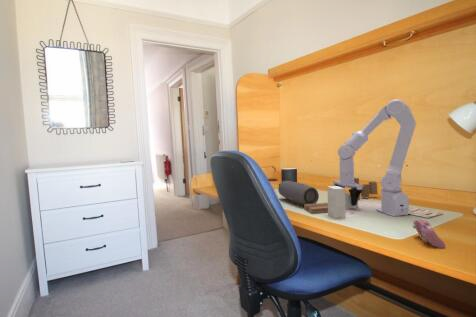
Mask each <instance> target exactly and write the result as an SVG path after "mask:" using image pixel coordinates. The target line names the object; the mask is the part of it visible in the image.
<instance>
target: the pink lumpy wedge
mask: <svg viewBox="0 0 476 317" xmlns="http://www.w3.org/2000/svg"><path fill="white" fill-rule="evenodd" d="M412 228H413V229H414V230H416V232H417V234H418V236H419V238H420V239H421V240H422V241H423V242H424V243H425V244H431V245H432V246H433V247H434V248H438V249H445V248H446V243H445V242H444V241H443V240H442V239H441V237H440V236H439V235H438V234H437V233H436V231H435V230H434V228H433V227H432V225H431V223H430V222H429V221H427V220H424V219H416V220H413V225H412Z"/></svg>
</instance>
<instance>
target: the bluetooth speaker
mask: <svg viewBox="0 0 476 317" xmlns="http://www.w3.org/2000/svg"><path fill="white" fill-rule="evenodd" d="M277 189H278V193H279V195H280V196H282V197H283V198H285V199H287V200H289V202H291V203H293V204H296V205H300V206H304V205H305V204H317V203H318V201H319V198H320V197H319V196H320V194H319V191H318V190H317V189H316V188H315V187H314V186H313V187H312V186H310V185H307V184H304V183H301V182H295V181H291V180H283V181H281V182H280V183H279V185H278V188H277Z"/></svg>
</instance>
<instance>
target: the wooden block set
mask: <svg viewBox="0 0 476 317" xmlns="http://www.w3.org/2000/svg"><path fill="white" fill-rule="evenodd" d="M354 182H355V183H357V184H360V178H359V177H354ZM361 185H362V192H361V194H360V195H359V198H358V200H360V199H361V197H362V198H369V197H370V195H378V182H377V181H368V183H364V184H361ZM350 189H353V188H350Z"/></svg>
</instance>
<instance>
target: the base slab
mask: <svg viewBox="0 0 476 317" xmlns="http://www.w3.org/2000/svg"><path fill="white" fill-rule="evenodd" d="M303 207H304V210H305V211H306V212H308V213H310V214H311V215H315V214H317V215H318V214H328V202H321V203H318V202H317V203H316V204H305V205H303Z"/></svg>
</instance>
